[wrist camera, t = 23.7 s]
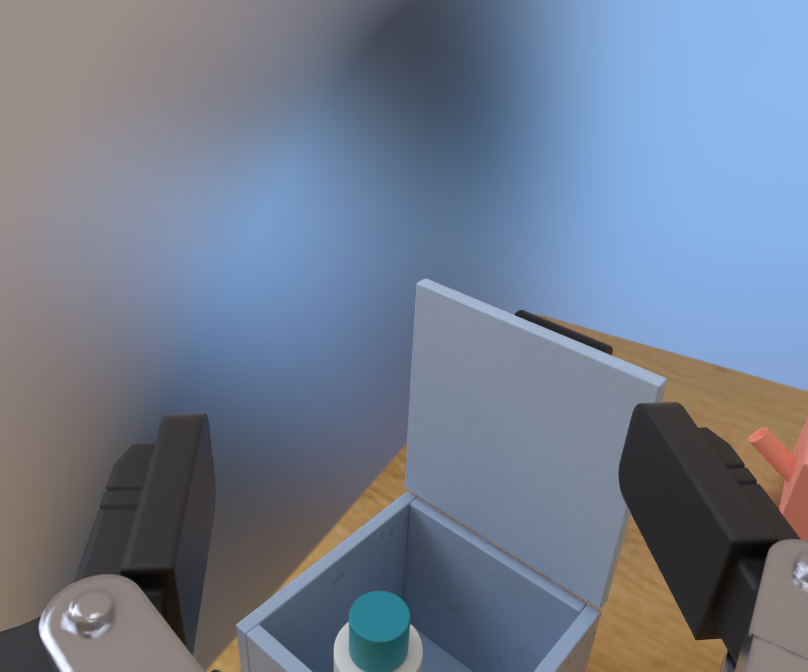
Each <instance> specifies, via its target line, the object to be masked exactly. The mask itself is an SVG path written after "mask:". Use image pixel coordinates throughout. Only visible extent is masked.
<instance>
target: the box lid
mask: <svg viewBox="0 0 808 672" xmlns="http://www.w3.org/2000/svg"><path fill="white" fill-rule="evenodd" d="M612 352H613V349H612V347H611V346H610V345H607V344H605V343H602V342H600V341H597V340H595V339H593V338H590V337H588V336H585V335H583V334H580V333H578V332H575V331H573V330H570V329H568V328H566V327H563V326H561V325H558V324H556V323H553V322H551V321H548V320H546V319H543V318H541V317H539V316H536V315H534V314H531V313H529V312H526V311H524V310H519V311H518V312H516V313H515V315H513V314H510V313H508V312H505V311H503V310H501V309H498V308H496V307H493V306H491V305H488V304H486V303H484V302H481V301H479V300H476V299H474V298H472V297H469V296H467V295H464V294H462V293H460V292H457V291H455V290H452V289H450V288H448V287H445V286H443V285H440V284H438V283H435V282H433V281H431V280H428V279H424V280H422V281H420V282H418V283H417V286H416V302H415V319H414V336H413V353H412V369H411V370H412V371H411V386H410V404H409V420H408V437H407V453H406V470H405V488H407V489H408V490H410V491H412V492H413V493H415V494H416V495H418V496H420V497H421V498H423V499H424V500H426V501H428V502H429V503H431V504H432V505H434V506H436V507H437V508H439V509H440V510H442V511H444V512H445V513H447V514H448V515H450V516H452V517H453V518H455V519H456V520H458V521H460V522H461V523H463V524H464V525H466V526H468V527H469V528H471V529H473V530H474V531H476V532H477V533H479V534H481V535H482V536H484V537H485V538H487V539H489V540H490V541H492V542H493V543H495V544H497V545H498V546H500V547H501V548H503V549H505V550H506V551H508V552H509V553H511V554H513V555H514V556H516V557H517V558H519V559H521V560H522V561H524V562H525V563H527V564H529V565H530V566H532V567H533V568H535V569H537V570H538V571H540V572H541V573H543V574H545V575H546V576H548V577H549V578H551V579H553V580H554V581H556V582H558V583H559V584H561V585H562V586H564V587H566V588H567V589H569V590H570V591H572V592H574V593H575V594H577V595H578V596H580V597H582V598H583V599H585V600H586V601H588V602H590V603H591V604H593V605H594V606H596V607H598V608H601V607H602V606H603V605H604V604H605V602H606V601H607V599H608V595H609V591H610V588H611V584H612V580H613V577H614V573H615V569H616V566H617V562H618V558H619V555H620V551H621V548H622V544H623V540H624V537H625V533H626V529H627V526H628V522H629V518H630V515H631V512H630V510H629V508H628V506H627V505H626V503H625V501H624V499H623V496H622V494H621V490H620V486H619V477H618V471H619V463H620V459H621V455H622V451H623V447H624V444H625V440H626V436H627V432H628V428H629V424H630V420H631V416H632V412H633V410H634V408H635V406H636V405H637V404H639V403H661V402H662V398H663V395H664V391H665V387H666V384H667V379H666V378H664V377H662V376H660V375H657V374H655V373H652V372H650V371H648V370H645V369H643V368H640V367H638V366H635V365H633V364H631V363H628V362H626V361H623V360H621V359H619V358H616V357H614V356H612Z"/></svg>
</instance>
